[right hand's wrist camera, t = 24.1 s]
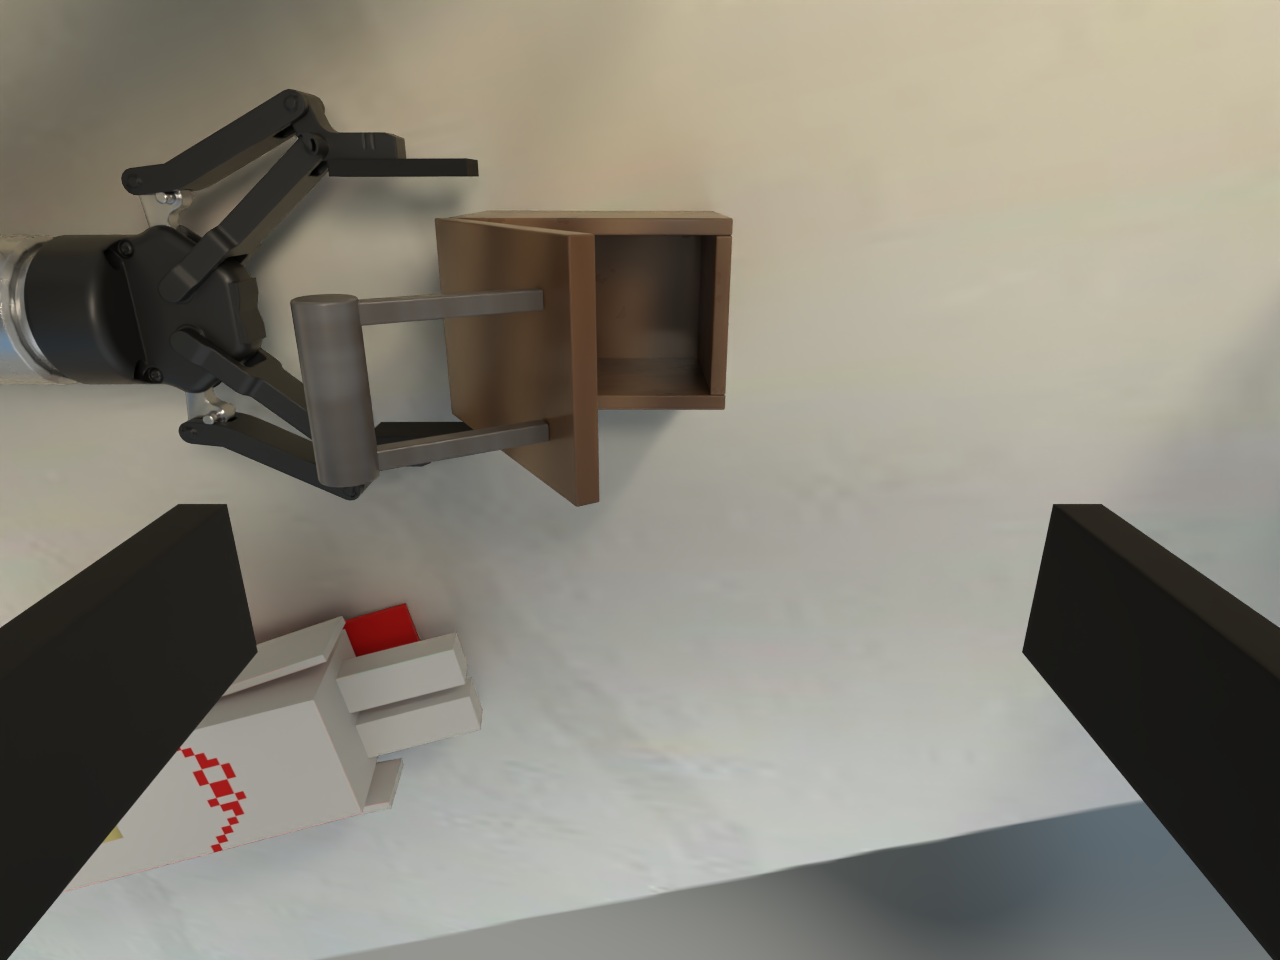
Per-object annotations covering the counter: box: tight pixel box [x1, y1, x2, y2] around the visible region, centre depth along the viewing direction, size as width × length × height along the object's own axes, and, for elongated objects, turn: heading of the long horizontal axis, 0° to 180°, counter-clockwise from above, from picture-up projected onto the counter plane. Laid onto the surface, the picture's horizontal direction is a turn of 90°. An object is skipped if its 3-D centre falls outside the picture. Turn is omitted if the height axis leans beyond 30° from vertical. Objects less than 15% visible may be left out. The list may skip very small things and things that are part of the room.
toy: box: [63, 603, 482, 892], centre depth 51 cm, size 12×13×30 cm
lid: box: [290, 218, 599, 507], centre depth 29 cm, size 14×9×9 cm
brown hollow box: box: [450, 211, 733, 410], centre depth 41 cm, size 13×9×10 cm
